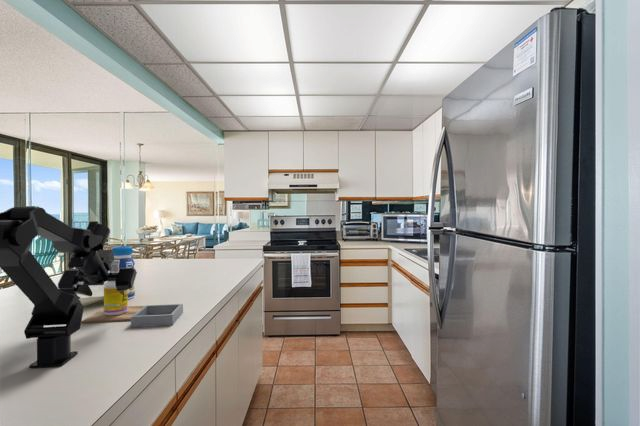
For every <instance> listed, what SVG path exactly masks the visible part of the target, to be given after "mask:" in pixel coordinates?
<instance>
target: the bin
mask: <svg viewBox="0 0 640 426" xmlns="http://www.w3.org/2000/svg"><path fill="white" fill-rule="evenodd" d="M143 306H144V307H143V308H142V309H140V310H139V311H138V312H137V313H135V314H134V315H133V316H131V321H130V328H140V327H157V326H159V327H160V326H174V324H175V323H176V321H177V320H178V319H179V318H180V317H181V316H182V315H183V314H184V304H183V303H170V304H148V305H147V304H146V305H143Z"/></svg>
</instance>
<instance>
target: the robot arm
mask: <svg viewBox="0 0 640 426" xmlns="http://www.w3.org/2000/svg"><path fill="white" fill-rule="evenodd" d="M110 233H111V230H110V228H109V227H108V226H106V225H105V224H101V223H99V221H95V220H94V221H93V220H92V221H89V223H88V224H87V227H86V228H80V227H73V226H70V225H68V224H67V223H65V222H64V221H62V220H60V219H58V218H56V217H55V216H53V215H51V214H50V213H48V212H47V211H46V209H44V207H40V206H36V205H35V206H33V205H28V206H24V205H22V206H21V205H20V206H19V205H17V206H14V207H10V208H9V209H7V210H4V211H3V212H0V269H1V270H2V271H3V272H4V273H5V274H6V276H7V277H8V278H9V279H10V280H11V281H12V282H13V284H15V286H17V287H18V289H19V290H20V291H21V292H22V293H23V294H24V296H26V297H27V298H28V300H29V301H30V302H31V303H32V304H33V308H32V311H31V317H30V319H29V321H28V323H27V324H26V327H25V328H24V331H23V332H24V335H25V339H26V340H27V339H35V338H36V360H35V361H33V362H32V363H30V364H29V365H28V368H30V369H33V368H45V367H46V368H49V367H61V366H63V365H64V364H66V363H68V362H69V360H71V359H72V358H74V357H75V356H77V355H78V353H79V351H71V350H72V347H71V346H72V345H71V339H72V338H71V336H72V335H73V334H75V333H77V332H78V331H79V330H81V325H82V323H81V321H83V320H82V319H83V315H84V306H83V303H82V302H81V296H78V295H82V296H85V297H93V291H92V289H91V287H90V286H104V284H105V283H106V282H108V281H115V286H116V288H117V291H118V292H120V293H121V294H122V295H125V292H126V290H127V289H130V288H132V287H133V284H134V285H135V281H136V278H137V273H138V272H137V270H136V268H135V267H134V268H120V270H119V273H110V271H111V268H112V267H111V263H112V262H113V261H114V260H115V258H114V254H113V250H112V249H104V247H105V245H106V242H107V241H108V238H109V236H110ZM37 236H39V237H41V238H43V239H45V240H48V241H50V242H51V243H52V248H53V249H55V250H56V251H57V252H58V253H61V254H70V257H69V258H70V260H69V262H68V264H67V265H68V266H67V268H69V269H66V270H64V271H63V273H62V275H61V277H60V279H59V281H58V283H57V284H56V283H55V282H54V280H53V279H52V278H51V277H50V275H48V272H46V270H45V268H43V266H42V265H41V264H40V263H39V261H38V260H37V258H36V257H35V256H34V254H33V253H32V252H31V247H32V244H33V240H34V238H36V237H37ZM74 268H75V269H74ZM61 325H62V326H61ZM45 326H46V327H45Z"/></svg>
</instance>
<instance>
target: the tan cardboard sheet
mask: <svg viewBox="0 0 640 426" xmlns="http://www.w3.org/2000/svg"><path fill="white" fill-rule="evenodd" d="M144 306H145V305H134V306H133V305H132V306H131V305H130V306H129V305H128V310H127V312H125V313H123V314H120V315H113V316H108V315H105V314H104V307H103V308H101V309H99V310H98V311H96V312H95V313H93V314H91V315H90V316H89V315H88V316H87V317H86V318H85V319H83V320H82V321H81V324H89V323H90V324H93V323H114V322H131V316H133V315H134V314H135V313H137V312H138V311H139V310H140V309H142V308H143V307H144Z"/></svg>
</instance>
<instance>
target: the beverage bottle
mask: <svg viewBox="0 0 640 426" xmlns="http://www.w3.org/2000/svg"><path fill="white" fill-rule="evenodd" d="M111 250H113V254H114V258H115V260H114V261H113V262H112V263H111V267H112V268H111V271H109V273H119V270H120V268H135V264H136V263H135V260H134V258H133V257H132V255H133V246H132V245H131V246H130V245H129V246H128V245H121V246H120V245H119V246H114V247H112V249H111ZM135 291H136V290H135V283H134V284H133V287H132V288H130V289H128V300H131V299H133V298H134V297H135V296H136V292H135Z"/></svg>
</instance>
